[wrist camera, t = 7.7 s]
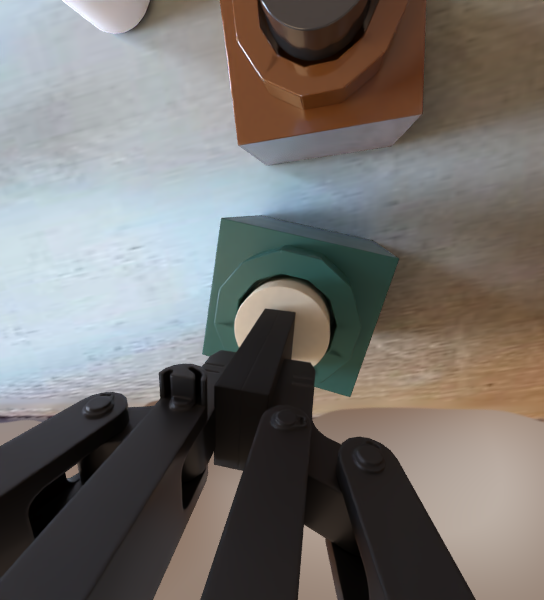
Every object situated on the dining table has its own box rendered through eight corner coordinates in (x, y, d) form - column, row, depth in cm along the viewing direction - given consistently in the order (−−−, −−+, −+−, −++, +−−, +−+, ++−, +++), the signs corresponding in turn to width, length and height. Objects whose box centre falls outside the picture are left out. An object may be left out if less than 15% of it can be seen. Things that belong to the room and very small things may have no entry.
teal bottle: (372, 240, 24) (409, 265, 13) (343, 333, 27) (352, 419, 16) (260, 215, 26) (206, 218, 14) (243, 307, 29) (188, 370, 17)
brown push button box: (392, -16, 20) (450, -226, 10) (391, 146, 22) (436, 99, 13) (251, 21, 22) (190, -124, 12) (266, 165, 24) (226, 137, 15)
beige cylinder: (340, 286, 16) (342, 300, 13) (317, 362, 17) (316, 387, 15) (255, 265, 16) (242, 275, 14) (241, 341, 18) (227, 361, 15)
